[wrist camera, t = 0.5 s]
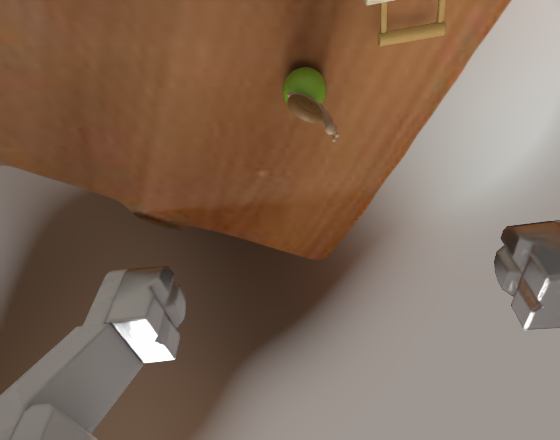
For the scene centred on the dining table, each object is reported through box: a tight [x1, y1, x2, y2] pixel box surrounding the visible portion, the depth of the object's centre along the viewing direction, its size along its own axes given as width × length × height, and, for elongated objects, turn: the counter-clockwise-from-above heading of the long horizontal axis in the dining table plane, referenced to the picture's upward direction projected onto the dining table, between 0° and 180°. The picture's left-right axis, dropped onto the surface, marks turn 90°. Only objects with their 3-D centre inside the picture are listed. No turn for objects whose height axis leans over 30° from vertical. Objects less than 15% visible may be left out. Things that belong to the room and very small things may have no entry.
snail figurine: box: [283, 67, 339, 142], centre depth 46 cm, size 5×6×12 cm
